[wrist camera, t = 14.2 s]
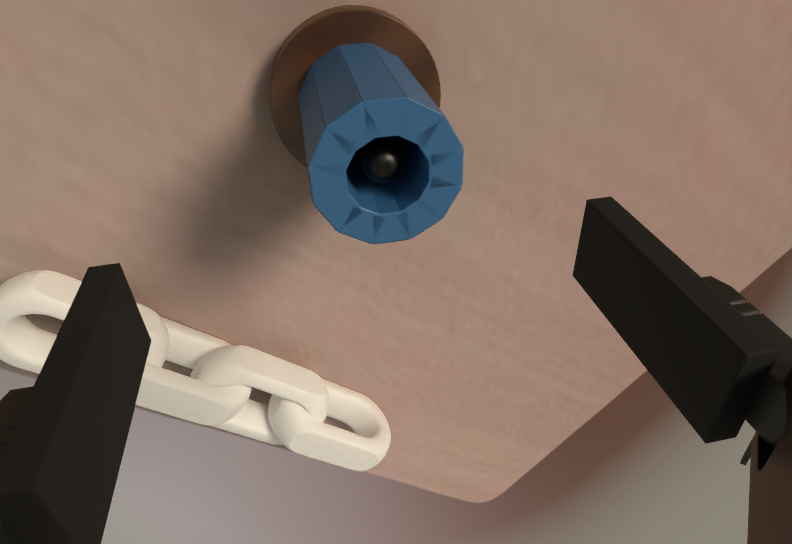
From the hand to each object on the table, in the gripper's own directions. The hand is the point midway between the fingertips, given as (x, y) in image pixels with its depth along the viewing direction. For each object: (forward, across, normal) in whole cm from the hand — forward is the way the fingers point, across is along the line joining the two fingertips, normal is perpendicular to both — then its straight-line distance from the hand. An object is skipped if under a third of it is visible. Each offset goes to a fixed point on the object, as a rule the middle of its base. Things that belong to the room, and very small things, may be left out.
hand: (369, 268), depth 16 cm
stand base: (+20, +2, -2) cm, 20 cm away
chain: (+20, -10, -20) cm, 30 cm away
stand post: (+19, +2, -1) cm, 19 cm away
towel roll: (+19, +2, -2) cm, 19 cm away
